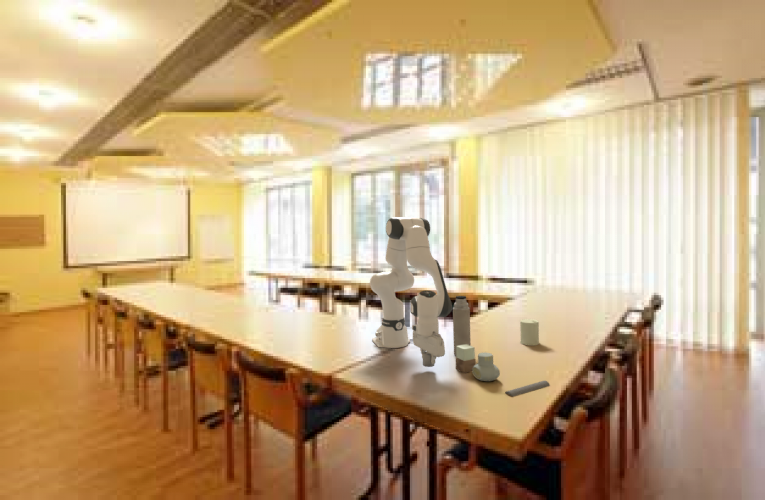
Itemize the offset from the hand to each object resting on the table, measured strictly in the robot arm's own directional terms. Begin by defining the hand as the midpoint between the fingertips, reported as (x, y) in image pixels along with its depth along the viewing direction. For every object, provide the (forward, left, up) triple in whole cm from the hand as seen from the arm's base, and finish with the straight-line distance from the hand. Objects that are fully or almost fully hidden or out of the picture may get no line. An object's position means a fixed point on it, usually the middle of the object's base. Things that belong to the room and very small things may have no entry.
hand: (428, 361), depth 176 cm
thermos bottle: (-11, +26, -5) cm, 29 cm away
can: (-7, +66, -5) cm, 67 cm away
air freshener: (+20, +14, -5) cm, 25 cm away
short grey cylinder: (0, 0, -2) cm, 2 cm away
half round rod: (+36, +21, -5) cm, 42 cm away
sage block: (+7, +15, +1) cm, 16 cm away
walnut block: (+7, +14, -4) cm, 16 cm away
